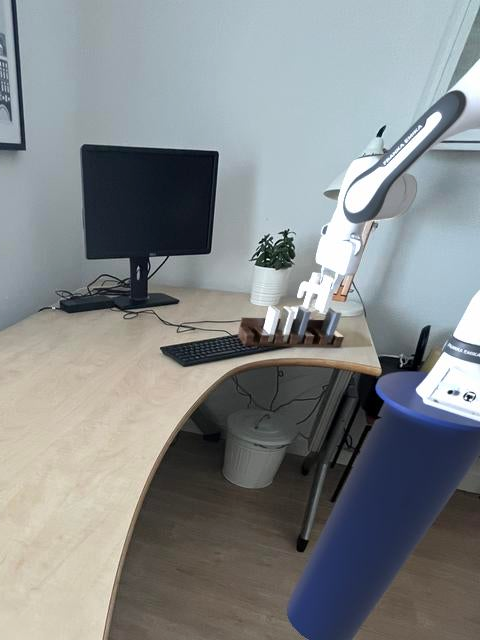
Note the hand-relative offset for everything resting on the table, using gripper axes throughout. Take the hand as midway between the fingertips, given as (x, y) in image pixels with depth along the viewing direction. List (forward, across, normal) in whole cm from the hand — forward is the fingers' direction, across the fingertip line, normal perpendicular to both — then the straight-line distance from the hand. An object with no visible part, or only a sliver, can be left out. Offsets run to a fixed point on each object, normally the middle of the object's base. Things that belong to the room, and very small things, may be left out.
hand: (328, 286), depth 127 cm
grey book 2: (+15, 0, -4) cm, 16 cm away
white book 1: (+15, 0, +14) cm, 21 cm away
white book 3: (+6, 0, 0) cm, 6 cm away
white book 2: (+15, 0, +9) cm, 18 cm away
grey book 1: (+15, 0, +5) cm, 16 cm away
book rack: (+16, 0, +7) cm, 18 cm away
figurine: (+16, +26, -7) cm, 31 cm away
